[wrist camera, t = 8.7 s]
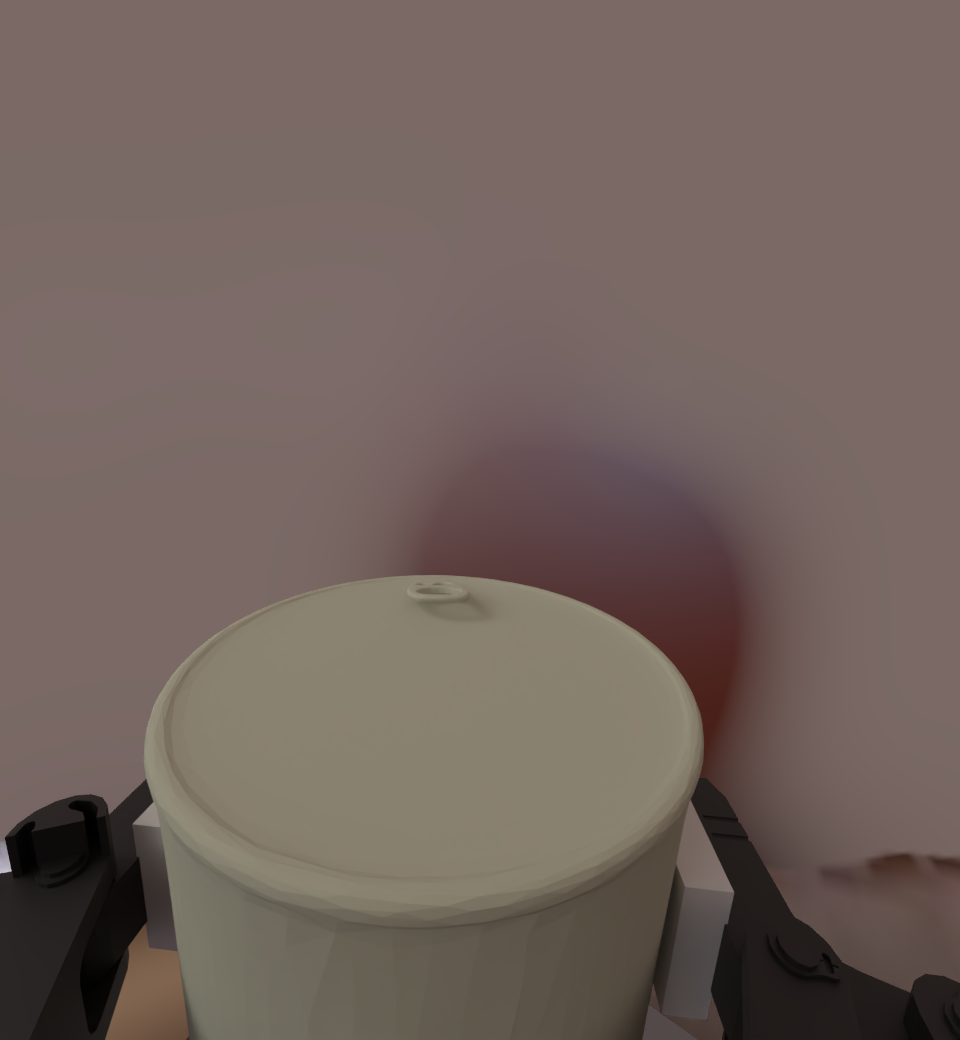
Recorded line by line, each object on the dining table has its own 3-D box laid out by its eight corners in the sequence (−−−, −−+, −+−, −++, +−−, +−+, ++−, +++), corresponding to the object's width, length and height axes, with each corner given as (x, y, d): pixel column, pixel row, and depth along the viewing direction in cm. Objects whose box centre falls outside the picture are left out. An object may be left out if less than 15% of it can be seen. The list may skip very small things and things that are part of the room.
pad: (-46, 935, 19) (-48, 924, 19) (234, 768, 29) (234, 760, 29) (33, 1209, 13) (30, 1194, 13) (359, 875, 23) (359, 865, 22)
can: (547, 875, 16) (580, 557, 14) (720, 1430, 7) (909, 816, 5) (276, 908, 15) (257, 556, 12) (77, 1668, 6) (-156, 941, 3)
